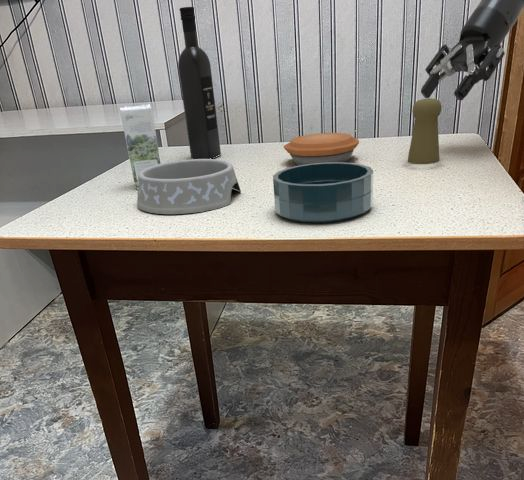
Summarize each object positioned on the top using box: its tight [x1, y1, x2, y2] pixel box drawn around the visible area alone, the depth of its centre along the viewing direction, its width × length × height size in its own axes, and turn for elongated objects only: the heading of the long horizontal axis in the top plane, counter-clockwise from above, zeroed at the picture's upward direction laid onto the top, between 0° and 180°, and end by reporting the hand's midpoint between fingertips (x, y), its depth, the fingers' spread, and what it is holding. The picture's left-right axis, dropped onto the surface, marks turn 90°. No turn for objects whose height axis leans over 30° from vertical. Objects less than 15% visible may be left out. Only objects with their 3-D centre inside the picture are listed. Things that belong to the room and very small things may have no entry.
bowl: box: [272, 162, 374, 224], centre depth 80 cm, size 15×15×6 cm
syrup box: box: [119, 103, 162, 190], centre depth 102 cm, size 6×6×14 cm
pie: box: [283, 132, 360, 166], centre depth 111 cm, size 15×16×5 cm
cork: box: [407, 97, 443, 165], centre depth 102 cm, size 6×6×11 cm
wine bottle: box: [177, 6, 222, 159], centre depth 119 cm, size 6×6×30 cm
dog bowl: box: [136, 158, 242, 215], centre depth 92 cm, size 17×18×5 cm
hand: (440, 96), depth 101 cm, fingers open, 8 cm apart
